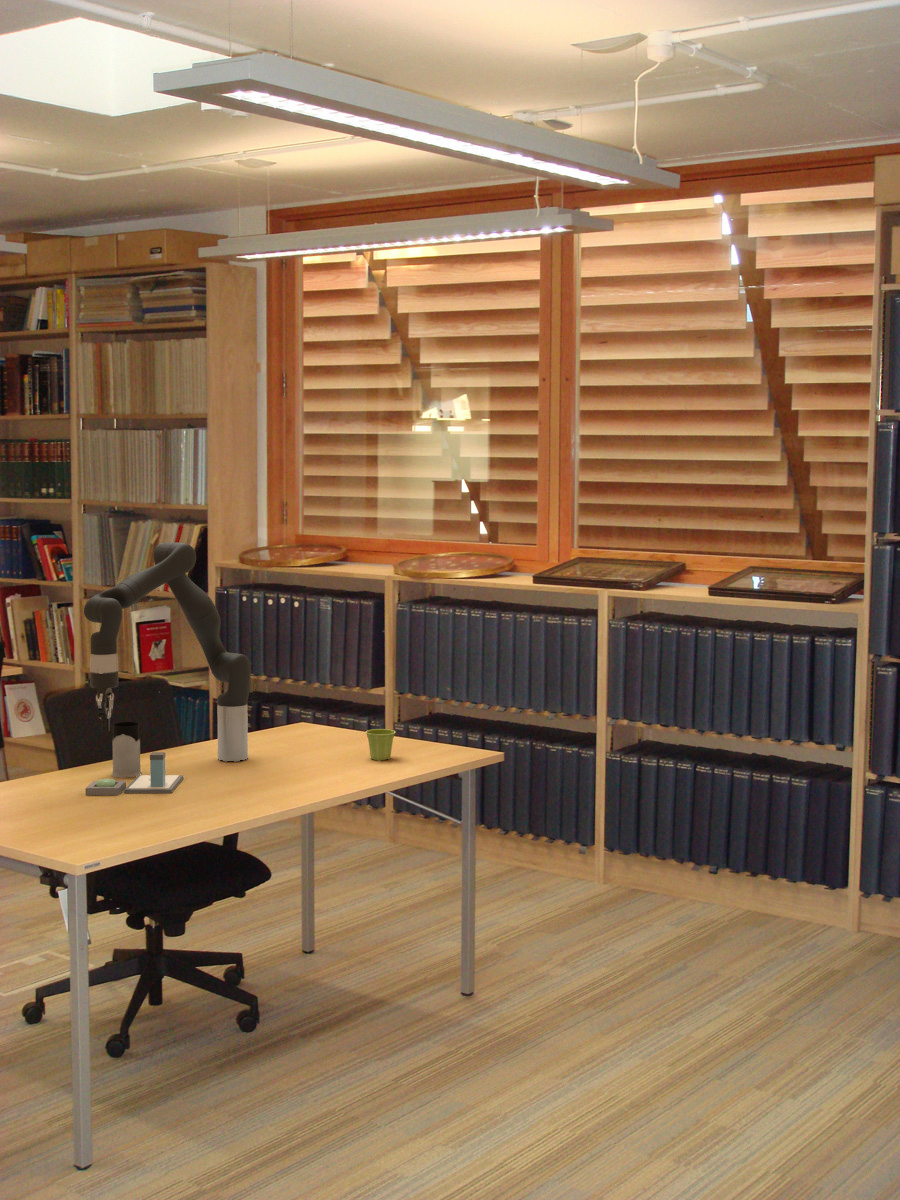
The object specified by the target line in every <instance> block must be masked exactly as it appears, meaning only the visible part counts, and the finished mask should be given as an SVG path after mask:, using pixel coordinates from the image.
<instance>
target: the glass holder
mask: <svg viewBox="0 0 900 1200" xmlns="http://www.w3.org/2000/svg"><path fill="white" fill-rule="evenodd" d="M140 774H142V775H143V772H142V771H141V738H140V723H139V722H136V721H135V722H134V721H121V722H116V723H113V724H112V772H111V775H112V776H111V777H113V778H117V777H119V779H127V777H131V778H134V777H133V776H138V775H140Z"/></svg>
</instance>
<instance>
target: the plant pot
mask: <svg viewBox="0 0 900 1200" xmlns="http://www.w3.org/2000/svg"><path fill="white" fill-rule="evenodd" d="M365 734H366V737H367V739H368V746H369V752H370V753H369V754H370V755H369V756H370V760H374V761H381V760H382V761H385V760H387V759H389V760H391V755H392V749H393V741H394V738H395V734H396V731H395V730H394V729H393V730H392V729H388V728H375V729H367V730H366V731H365Z"/></svg>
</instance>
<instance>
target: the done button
mask: <svg viewBox="0 0 900 1200" xmlns="http://www.w3.org/2000/svg"><path fill="white" fill-rule="evenodd" d="M95 781H96V783H97V787H114V786H115V781H116V780H115V779H114V778H100V779H97V780H95Z"/></svg>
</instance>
